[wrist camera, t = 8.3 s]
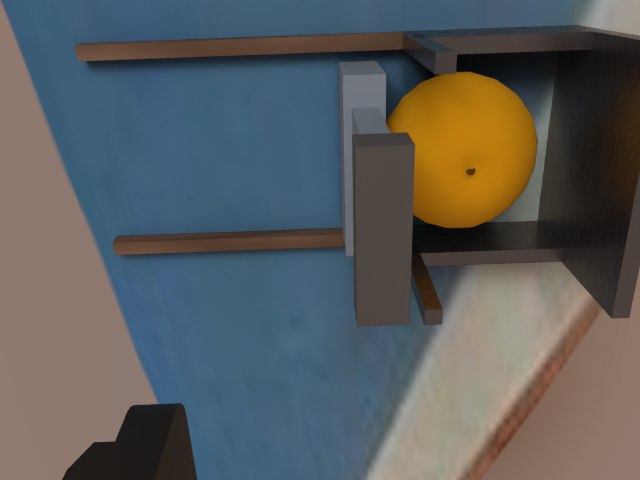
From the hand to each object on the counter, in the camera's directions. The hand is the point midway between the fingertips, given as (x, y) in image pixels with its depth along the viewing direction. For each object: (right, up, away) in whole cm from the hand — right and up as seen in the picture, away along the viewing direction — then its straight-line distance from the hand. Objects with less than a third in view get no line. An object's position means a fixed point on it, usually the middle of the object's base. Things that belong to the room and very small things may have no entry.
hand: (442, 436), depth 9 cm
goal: (+7, +9, +25) cm, 27 cm away
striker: (0, +8, +24) cm, 26 cm away
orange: (+5, +9, +25) cm, 27 cm away
